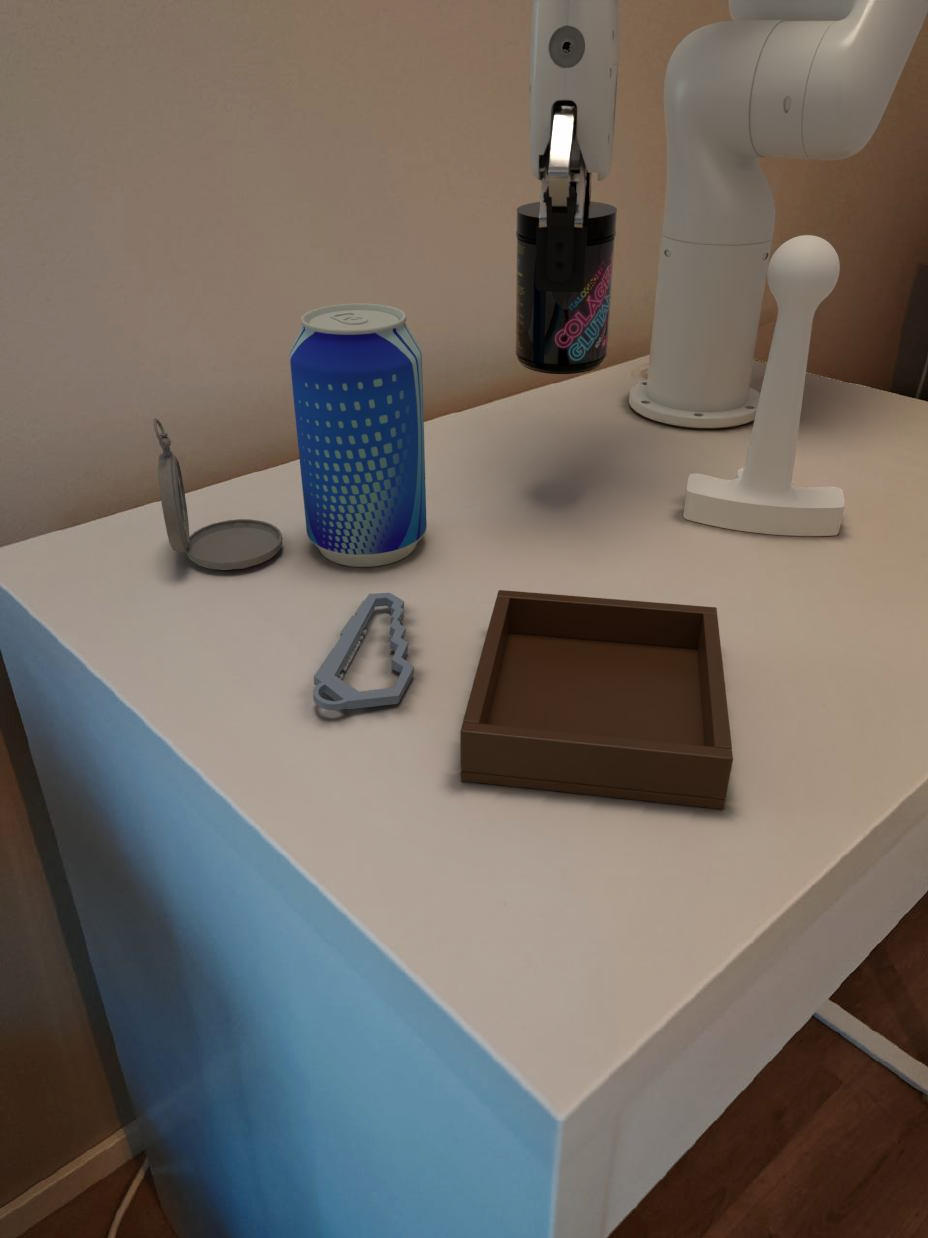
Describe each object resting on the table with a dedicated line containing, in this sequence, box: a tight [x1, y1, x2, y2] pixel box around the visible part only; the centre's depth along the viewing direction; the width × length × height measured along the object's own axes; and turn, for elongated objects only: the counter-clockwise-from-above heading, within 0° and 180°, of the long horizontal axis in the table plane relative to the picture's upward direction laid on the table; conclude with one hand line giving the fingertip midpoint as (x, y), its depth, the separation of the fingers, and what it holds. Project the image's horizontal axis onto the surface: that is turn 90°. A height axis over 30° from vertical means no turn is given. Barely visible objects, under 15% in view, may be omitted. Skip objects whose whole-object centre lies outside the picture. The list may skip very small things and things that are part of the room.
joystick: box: [682, 234, 846, 537], centre depth 68 cm, size 11×8×20 cm
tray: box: [459, 589, 734, 810], centre depth 51 cm, size 14×13×3 cm
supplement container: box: [515, 200, 618, 376], centre depth 68 cm, size 7×7×10 cm
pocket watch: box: [153, 418, 283, 571], centre depth 65 cm, size 8×8×10 cm
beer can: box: [289, 302, 427, 568], centre depth 64 cm, size 8×8×16 cm
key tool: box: [312, 592, 415, 712], centre depth 56 cm, size 12×1×5 cm
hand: (564, 274), depth 67 cm, fingers closed on supplement container, 6 cm apart
